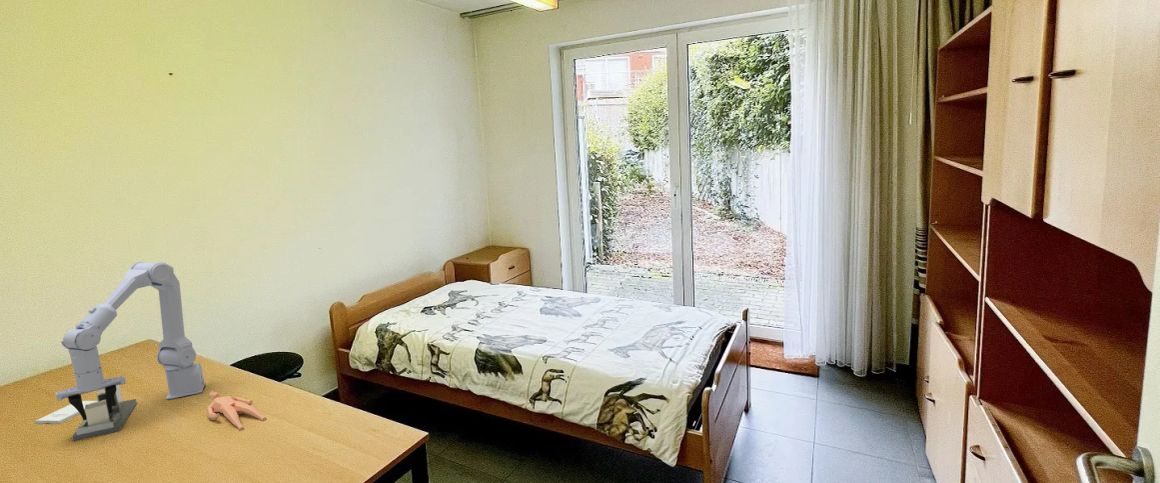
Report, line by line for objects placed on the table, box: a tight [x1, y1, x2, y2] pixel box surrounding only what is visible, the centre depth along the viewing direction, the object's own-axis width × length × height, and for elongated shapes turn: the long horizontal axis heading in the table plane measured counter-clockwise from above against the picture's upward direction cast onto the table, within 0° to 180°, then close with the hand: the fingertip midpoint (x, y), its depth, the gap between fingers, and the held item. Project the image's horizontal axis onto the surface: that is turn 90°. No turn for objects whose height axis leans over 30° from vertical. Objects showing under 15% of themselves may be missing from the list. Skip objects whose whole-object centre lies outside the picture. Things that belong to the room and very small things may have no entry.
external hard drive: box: [34, 400, 98, 425], centre depth 168 cm, size 2×8×12 cm
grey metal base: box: [71, 384, 138, 442], centre depth 161 cm, size 10×20×8 cm, turn 27°
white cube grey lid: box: [85, 400, 110, 426], centre depth 156 cm, size 5×4×6 cm
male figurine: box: [206, 390, 267, 431], centre depth 162 cm, size 11×5×25 cm
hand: (97, 415), depth 156 cm, fingers open, 5 cm apart
